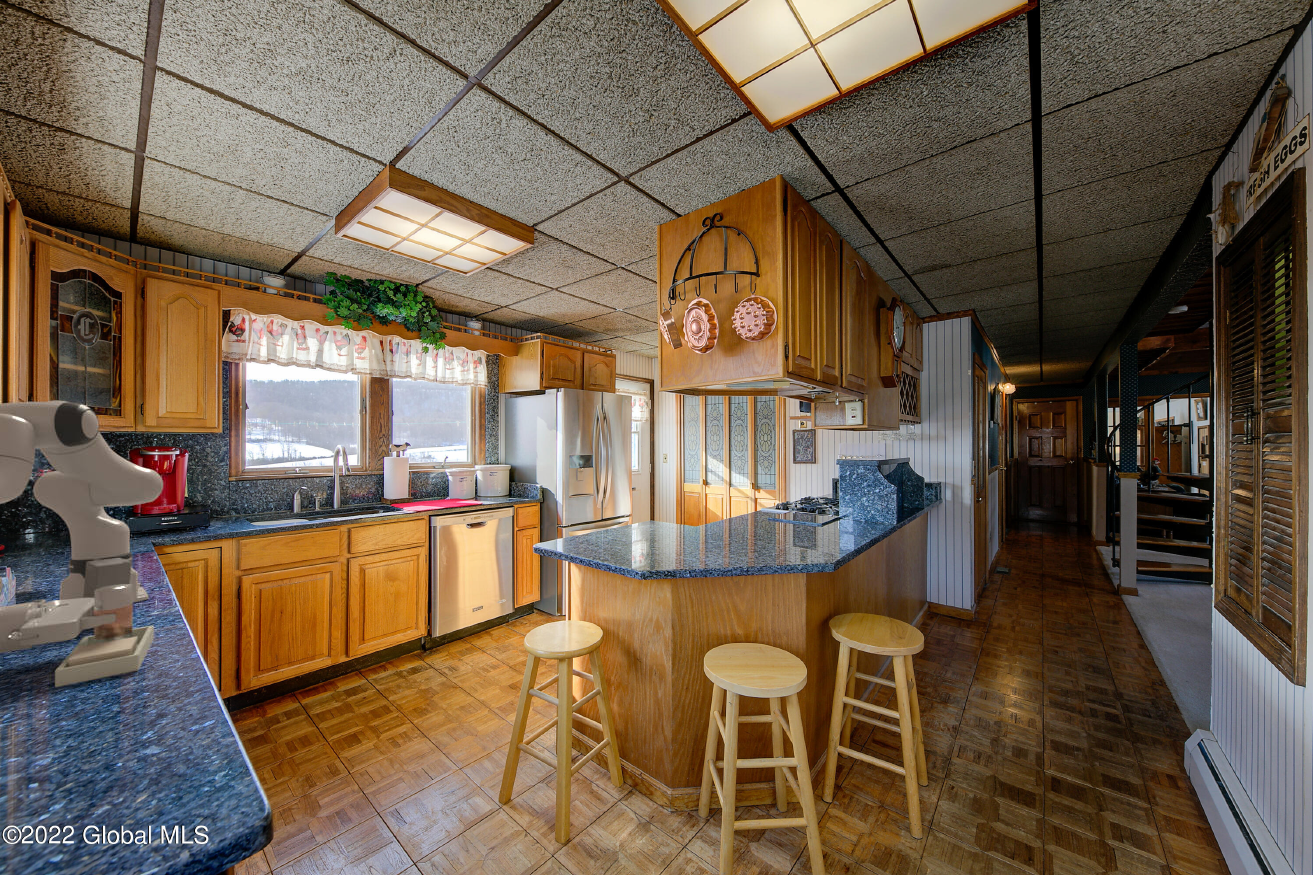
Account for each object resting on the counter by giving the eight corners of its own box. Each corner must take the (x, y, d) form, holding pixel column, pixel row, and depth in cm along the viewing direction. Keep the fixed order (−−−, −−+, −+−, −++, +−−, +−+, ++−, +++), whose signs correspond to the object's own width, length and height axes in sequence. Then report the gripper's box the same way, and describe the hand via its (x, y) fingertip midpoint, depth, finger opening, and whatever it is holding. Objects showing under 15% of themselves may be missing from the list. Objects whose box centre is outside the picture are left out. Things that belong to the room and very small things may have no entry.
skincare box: (80, 624, 128) (80, 561, 128) (119, 615, 134) (119, 556, 134) (92, 629, 124) (92, 565, 124) (132, 620, 130) (132, 559, 130)
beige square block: (79, 666, 101) (79, 646, 101) (137, 655, 106) (137, 636, 106) (68, 681, 95) (68, 660, 95) (130, 669, 100) (130, 648, 100)
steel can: (97, 652, 108) (97, 587, 108) (134, 645, 112) (134, 582, 112) (90, 661, 104) (91, 593, 104) (129, 653, 107) (129, 588, 107)
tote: (83, 655, 109) (83, 636, 109) (153, 642, 116) (153, 625, 116) (55, 692, 93) (55, 670, 93) (138, 674, 100) (138, 654, 100)
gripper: (-1, 625, 92) (110, 609, 100) (36, 598, 107) (129, 586, 116) (-1, 660, 92) (109, 640, 100) (35, 628, 107) (128, 613, 116)
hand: (120, 611), depth 108 cm, fingers open, 7 cm apart
